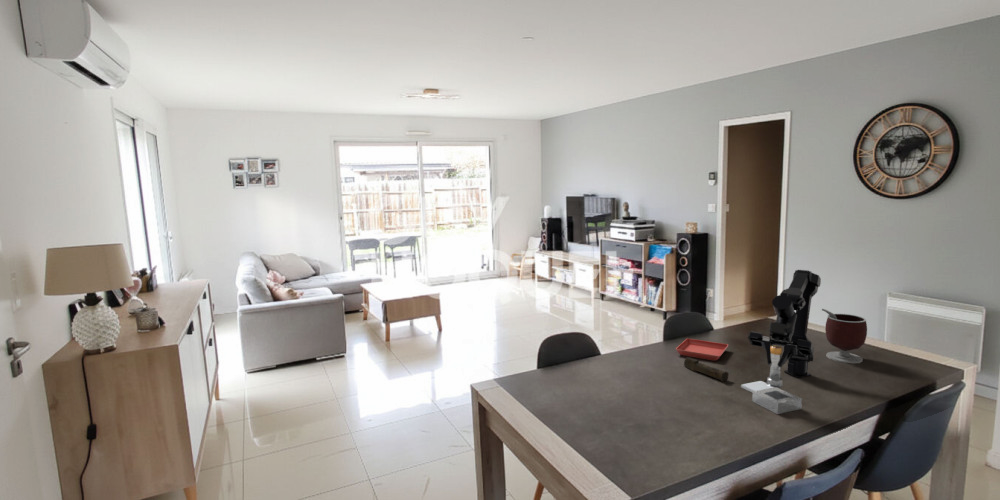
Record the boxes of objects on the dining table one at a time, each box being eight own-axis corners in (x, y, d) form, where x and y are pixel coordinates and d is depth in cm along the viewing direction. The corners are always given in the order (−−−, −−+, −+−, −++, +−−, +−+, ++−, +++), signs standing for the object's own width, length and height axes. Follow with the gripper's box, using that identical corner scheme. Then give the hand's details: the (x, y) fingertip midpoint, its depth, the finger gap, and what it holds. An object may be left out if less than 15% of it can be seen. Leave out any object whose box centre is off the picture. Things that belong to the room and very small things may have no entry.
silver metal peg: (774, 381, 166) (776, 344, 164) (785, 386, 162) (787, 348, 160) (764, 383, 165) (765, 345, 163) (774, 388, 161) (776, 350, 159)
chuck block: (775, 396, 169) (775, 386, 168) (801, 408, 159) (801, 398, 159) (752, 401, 166) (752, 391, 165) (777, 414, 156) (777, 403, 156)
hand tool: (729, 381, 184) (729, 369, 183) (721, 383, 182) (722, 371, 181) (689, 365, 200) (689, 354, 200) (682, 367, 199) (682, 356, 198)
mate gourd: (863, 355, 204) (866, 308, 202) (866, 366, 193) (869, 316, 190) (819, 349, 213) (821, 304, 210) (819, 360, 201) (822, 312, 199)
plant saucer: (686, 344, 226) (686, 337, 226) (729, 351, 216) (729, 343, 215) (674, 356, 212) (675, 348, 211) (719, 364, 201) (720, 356, 201)
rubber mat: (760, 383, 180) (760, 380, 180) (781, 392, 172) (781, 390, 172) (741, 387, 177) (741, 384, 177) (761, 397, 169) (761, 394, 169)
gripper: (750, 308, 169) (738, 347, 163) (813, 316, 157) (803, 360, 150) (756, 325, 176) (745, 363, 170) (817, 334, 163) (808, 376, 157)
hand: (774, 365), depth 161 cm, fingers closed on silver metal peg, 3 cm apart
